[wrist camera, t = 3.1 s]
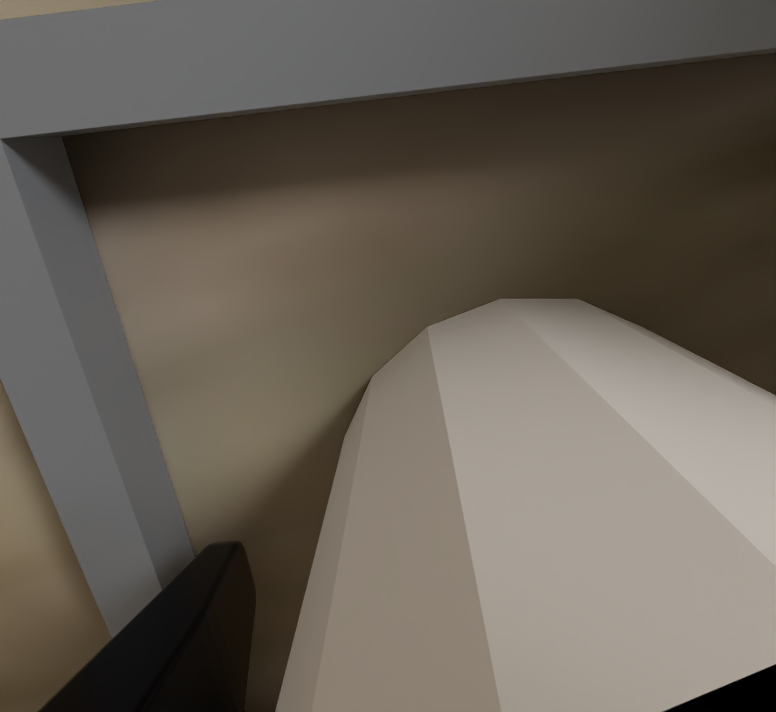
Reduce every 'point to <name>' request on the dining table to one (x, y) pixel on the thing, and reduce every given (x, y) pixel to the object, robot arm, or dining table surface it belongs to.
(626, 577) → the shot glass
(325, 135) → the dining table surface
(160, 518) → the grey square frame
